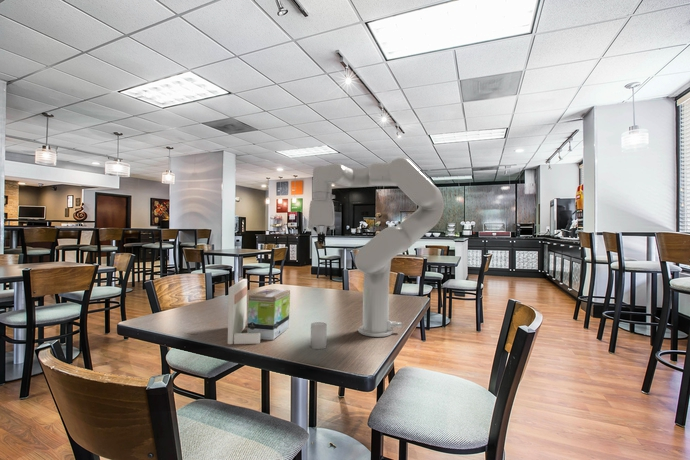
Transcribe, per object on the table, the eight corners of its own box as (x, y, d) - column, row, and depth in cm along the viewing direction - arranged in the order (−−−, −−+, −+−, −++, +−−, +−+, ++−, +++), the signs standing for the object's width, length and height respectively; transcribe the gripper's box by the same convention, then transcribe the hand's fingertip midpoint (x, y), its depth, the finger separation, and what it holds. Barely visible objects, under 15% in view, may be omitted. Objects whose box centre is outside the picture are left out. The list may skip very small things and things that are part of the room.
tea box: (274, 340, 108) (275, 296, 108) (246, 338, 110) (247, 295, 110) (289, 328, 123) (290, 289, 123) (264, 326, 125) (265, 287, 125)
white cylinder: (326, 343, 106) (326, 322, 106) (326, 348, 101) (326, 326, 101) (310, 343, 105) (311, 322, 106) (310, 349, 100) (310, 326, 101)
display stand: (268, 325, 126) (269, 278, 126) (259, 343, 105) (260, 287, 105) (242, 325, 125) (243, 278, 125) (227, 344, 104) (228, 287, 104)
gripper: (339, 199, 134) (338, 243, 133) (303, 198, 132) (302, 243, 132) (341, 197, 126) (340, 244, 126) (303, 196, 124) (302, 243, 124)
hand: (321, 243), depth 129 cm, fingers closed
